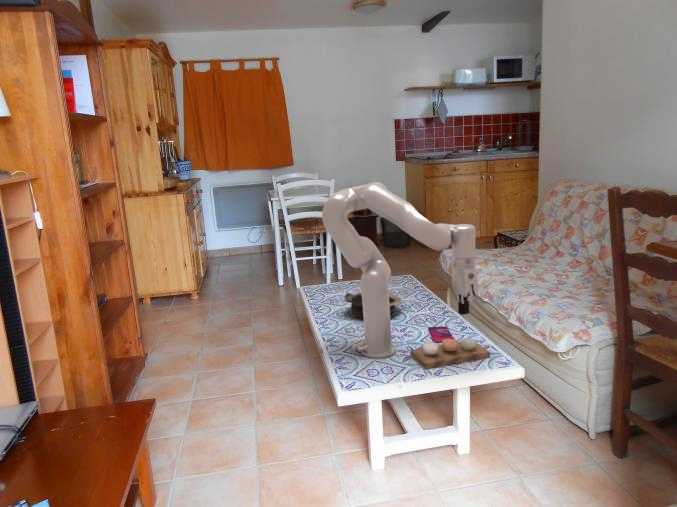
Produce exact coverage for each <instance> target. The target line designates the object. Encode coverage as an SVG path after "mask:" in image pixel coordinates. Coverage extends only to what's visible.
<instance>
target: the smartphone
mask: <svg viewBox="0 0 677 507" xmlns="http://www.w3.org/2000/svg"><path fill="white" fill-rule="evenodd" d="M427 330H428V332H429V335H430V334H431V335H430V336H431V339H432V342H435V343H437V344H442V340H444V339H454V337H453V334H452V332H450V329H449V328H448V326H446V325H445V326H429V327H428V328H427Z"/></svg>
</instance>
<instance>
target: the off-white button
mask: <svg viewBox="0 0 677 507" xmlns="http://www.w3.org/2000/svg"><path fill="white" fill-rule="evenodd" d="M422 345H423V347H422V348H423V352H424V353H425V354H430V355H432V354H437V353H438V346H439V343H435V342H434V341H426V342H424V343H423V344H422Z"/></svg>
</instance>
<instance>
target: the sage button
mask: <svg viewBox="0 0 677 507" xmlns="http://www.w3.org/2000/svg"><path fill="white" fill-rule="evenodd" d="M459 342H461V349H463V350H474V349H475V342H476V340H475V339H474V338H470V337H469V338H468V337H465V338H462V339H460V341H459Z"/></svg>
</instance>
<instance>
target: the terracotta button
mask: <svg viewBox="0 0 677 507" xmlns="http://www.w3.org/2000/svg"><path fill="white" fill-rule="evenodd" d="M457 342H458V340H456V339H455V338H453V339H444V340H442V343H441V345H442V349H443V350H446V351H454V350H456V349H457Z"/></svg>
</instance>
